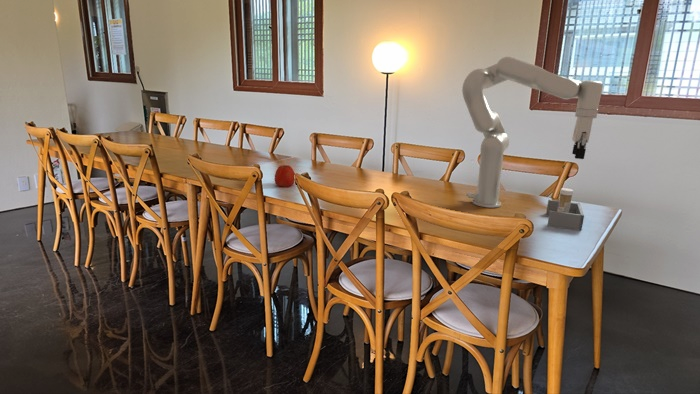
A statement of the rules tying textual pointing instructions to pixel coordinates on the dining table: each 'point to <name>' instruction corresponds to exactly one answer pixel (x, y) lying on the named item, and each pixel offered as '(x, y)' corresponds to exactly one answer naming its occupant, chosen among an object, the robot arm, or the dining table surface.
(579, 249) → the dining table surface
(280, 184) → the apple
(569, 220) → the open-side box
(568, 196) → the sprinkles bottle
